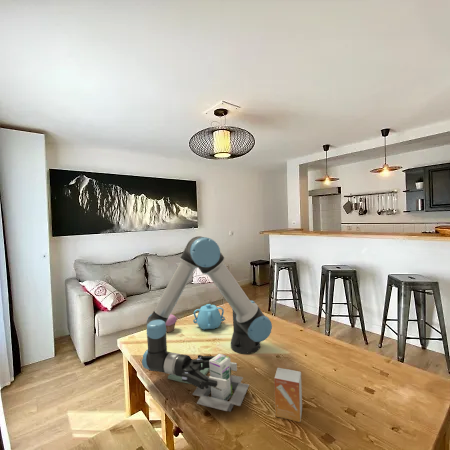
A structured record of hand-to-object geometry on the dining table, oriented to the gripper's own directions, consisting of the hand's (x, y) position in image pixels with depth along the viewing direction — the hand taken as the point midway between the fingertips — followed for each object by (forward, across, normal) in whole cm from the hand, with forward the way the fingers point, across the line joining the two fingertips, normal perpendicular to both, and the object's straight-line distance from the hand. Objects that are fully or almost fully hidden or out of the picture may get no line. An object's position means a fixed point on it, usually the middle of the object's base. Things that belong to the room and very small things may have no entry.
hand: (231, 375), depth 90 cm
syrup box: (-4, 0, -9) cm, 10 cm away
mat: (-23, -10, -9) cm, 27 cm away
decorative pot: (-35, -55, -9) cm, 66 cm away
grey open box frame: (-4, 0, -9) cm, 10 cm away
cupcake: (-55, -42, -9) cm, 70 cm away
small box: (+20, 0, -9) cm, 22 cm away
